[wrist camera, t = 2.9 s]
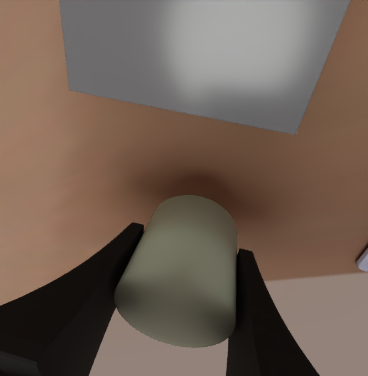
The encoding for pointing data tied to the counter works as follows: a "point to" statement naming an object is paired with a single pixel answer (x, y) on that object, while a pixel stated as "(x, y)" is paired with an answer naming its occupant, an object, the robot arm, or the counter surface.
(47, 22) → the counter surface
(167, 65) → the slate base
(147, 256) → the green cylinder
